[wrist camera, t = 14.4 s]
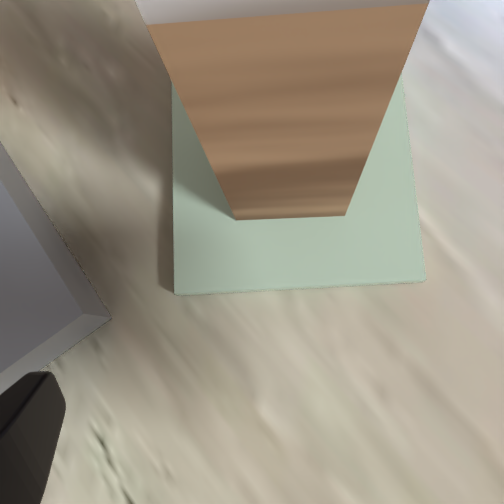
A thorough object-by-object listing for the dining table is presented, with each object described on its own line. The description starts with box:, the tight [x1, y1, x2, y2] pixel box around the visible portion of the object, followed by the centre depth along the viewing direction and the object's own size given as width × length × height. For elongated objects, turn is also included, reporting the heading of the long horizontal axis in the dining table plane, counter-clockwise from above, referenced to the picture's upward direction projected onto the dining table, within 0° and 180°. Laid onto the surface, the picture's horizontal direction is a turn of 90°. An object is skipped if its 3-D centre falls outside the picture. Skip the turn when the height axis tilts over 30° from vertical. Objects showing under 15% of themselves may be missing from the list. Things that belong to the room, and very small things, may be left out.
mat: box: [171, 72, 426, 296], centre depth 18 cm, size 9×9×1 cm
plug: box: [135, 0, 430, 221], centre depth 12 cm, size 4×4×12 cm
